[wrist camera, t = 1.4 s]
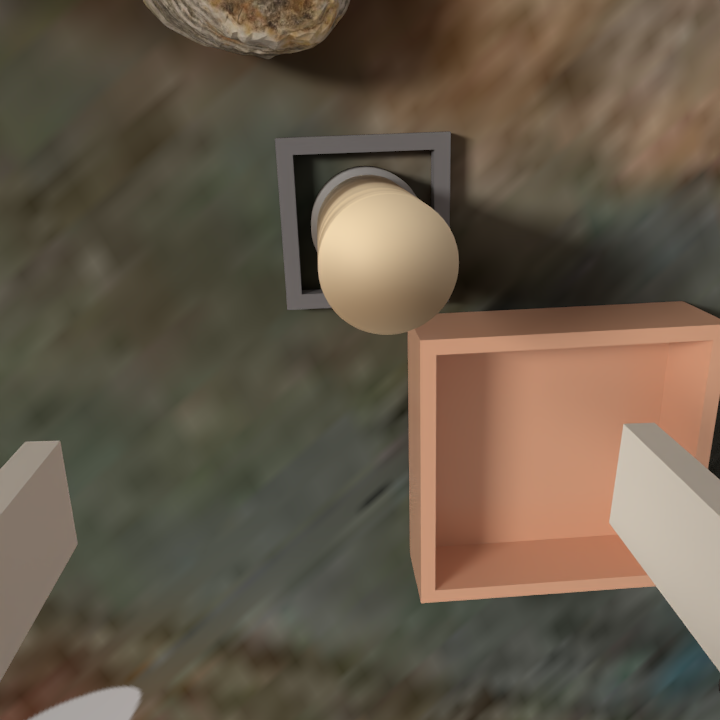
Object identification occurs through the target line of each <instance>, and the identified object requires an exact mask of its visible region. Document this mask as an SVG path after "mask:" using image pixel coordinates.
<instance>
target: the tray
mask: <svg viewBox="0 0 720 720" xmlns="http://www.w3.org/2000/svg"><path fill="white" fill-rule="evenodd" d="M719 397H720V319H719V318H717V317H715V316H713V315H711V314H709V313H707V312H705V311H702V310H700V309H698V308H696V307H694V306H692V305H690V304H688V303H686V302H683V301H675V302H656V303H636V304H616V305H597V306H577V307H558V308H538V309H518V310H499V311H479V312H460V313H440V314H436V315H435V316H434V317H433V318H432V319H431V320H429V321H428V322H426V323H425V324H423V325H421V326H420V327H418V328H416V329H413V330H410V331H408V407H409V501H410V556H411V560H412V565H413V569H414V574H415V578H416V582H417V587H418V591H419V596H420V600H421V603H431V602H444V601H458V600H472V599H485V598H499V597H513V596H527V595H540V594H554V593H568V592H581V591H595V590H609V589H623V588H636V587H650V586H656V585H655V584H654V583H653V581H652V580H651V579H650V577H649V576H648V575H647V573H646V572H645V571H644V569H643V568H642V567H641V565H640V564H639V562H638V561H637V560H636V558H635V557H634V556H633V554H632V553H631V552H630V550H629V549H628V548H627V546H626V545H625V544H624V542H623V541H622V540H621V538H620V537H619V536H618V534H617V533H616V532H615V530H614V529H613V528H612V526H611V525H610V523H609V520H610V513H611V506H612V499H613V492H614V485H615V479H616V472H617V465H618V458H619V451H620V444H621V437H622V430H623V424H630V423H655V424H657V425H658V426H659V427H660V428H661V429H662V430H663V431H665V432H666V433H667V434H668V435H669V436H670V437H671V438H673V439H674V440H675V441H676V442H677V443H678V444H679V445H681V446H682V447H683V448H684V449H685V450H686V451H688V452H689V453H690V454H691V455H692V456H693V457H694V458H696V459H697V460H698V461H699V462H700V463H701V464H702V465H704V466H705V467H706V468H707V469H708V465H709V459H710V453H711V447H712V440H713V434H714V428H715V422H716V415H717V409H718V403H719Z"/></svg>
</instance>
